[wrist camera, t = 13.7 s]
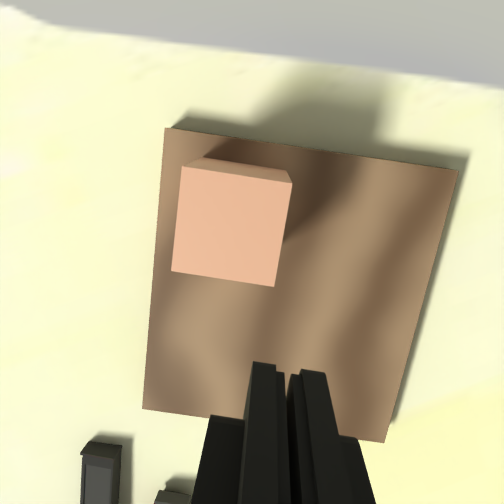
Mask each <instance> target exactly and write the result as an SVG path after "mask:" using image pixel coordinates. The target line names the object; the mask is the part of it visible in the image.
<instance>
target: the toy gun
mask: <svg viewBox="0 0 504 504" xmlns="http://www.w3.org/2000/svg"><path fill="white" fill-rule="evenodd" d="M121 449H122V446H121V445H114V444H106V443H98V442H90V441H89V442H88V443H87V444H86V446H85V447H84V448H83V450H82V451H81V453H80V455H83V457H82V474H81V498H80V504H118V499H119V483H120V467H121ZM191 500H192V498H191V495H187V494H181V493H175V492H169V491H163V490H159V492H158V494H157V497H156V499H155V501H154V504H190V503H191Z"/></svg>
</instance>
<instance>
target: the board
mask: <svg viewBox="0 0 504 504" xmlns="http://www.w3.org/2000/svg"><path fill="white" fill-rule="evenodd" d="M202 157H205V158H211V159H217V160H224V161H230V162H236V163H243V164H249V165H255V166H262V167H268V168H275V169H281V170H286V171H287V173H288V175H289V177H290V179H291V181H292V189H291V195H290V200H289V206H288V212H287V217H286V223H285V229H284V234H283V240H282V245H281V251H280V257H279V262H278V268H277V274H276V279H275V285H274V287H271V286H265V285H258V284H252V283H245V282H239V281H232V280H226V279H219V278H213V277H206V276H200V275H193V274H187V273H180V272H174V271H171V267H172V257H173V248H174V238H175V228H176V219H177V209H178V199H179V190H180V180H181V170H182V166H184V165H186V164H188V163H190V162H193V161H195V160H197V159H199V158H202ZM458 173H459V171H456V170H451V169H446V168H439V167H432V166H425V165H419V164H412V163H405V162H398V161H392V160H385V159H378V158H371V157H364V156H358V155H351V154H344V153H337V152H330V151H324V150H317V149H310V148H303V147H297V146H290V145H283V144H276V143H269V142H263V141H256V140H249V139H242V138H236V137H229V136H222V135H215V134H208V133H202V132H195V131H188V130H181V129H175V128H165V132H164V144H163V157H162V169H161V181H160V194H159V206H158V218H157V231H156V243H155V255H154V268H153V280H152V293H151V305H150V317H149V330H148V342H147V354H146V367H145V379H144V392H143V404H142V409H147V410H154V411H161V412H168V413H175V414H182V415H189V416H196V417H203V418H210V415H211V414H212V415H219V416H225V417H231V418H238V419H243V414H244V409H245V403H246V397H247V391H248V385H249V379H250V373H251V368H252V362H253V361H257V362H263V363H269V364H276V371H279V372H284V373H285V391H286V394H287V389H288V384H289V379H290V375H291V373H292V374H298V375H299V372H300V370H301V369H307V370H313V371H320V372H325V374H326V377H327V382H328V387H329V391H330V396H331V400H332V405H333V410H334V414H335V419H336V423H337V428H338V432H339V435H344V436H350V437H355V438H356V439H358V440H366V441H373V442H380V443H384V442H385V438H386V435H387V431H388V427H389V424H390V420H391V416H392V413H393V409H394V406H395V402H396V398H397V395H398V391H399V387H400V384H401V380H402V376H403V373H404V369H405V366H406V362H407V358H408V355H409V351H410V347H411V344H412V340H413V336H414V333H415V329H416V325H417V322H418V318H419V315H420V311H421V307H422V304H423V300H424V296H425V293H426V289H427V285H428V282H429V278H430V275H431V271H432V267H433V264H434V260H435V256H436V253H437V249H438V245H439V242H440V238H441V235H442V231H443V227H444V224H445V220H446V216H447V213H448V209H449V205H450V202H451V198H452V194H453V191H454V187H455V184H456V180H457V176H458Z"/></svg>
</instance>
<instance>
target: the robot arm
mask: <svg viewBox="0 0 504 504" xmlns="http://www.w3.org/2000/svg"><path fill="white" fill-rule="evenodd" d="M191 504H376V502H375V498H374V495H373V491H372V488H371V484H370V480H369V477H368V473H367V470H366V466H365V462H364V459H363V455H362V452H361V448H360V444H359V442H358V439H356V438H355V437H350V436H344V435H339V432H338V428H337V423H336V419H335V414H334V410H333V405H332V400H331V396H330V391H329V387H328V382H327V377H326V374H325V372H320V371H313V370H307V369H301V370H300V372H299V375H298V374H292V373H291V375H290V379H289V384H288V389H287V394H286V391H285V373H284V372H279V371H276V364H269V363H263V362H257V361H253V362H252V368H251V373H250V379H249V385H248V391H247V397H246V403H245V409H244V414H243V419H238V418H231V417H225V416H219V415H212V414H211V415H210V419H209V423H208V428H207V432H206V437H205V441H204V446H203V450H202V455H201V460H200V464H199V469H198V473H197V478H196V482H195V487H194V491H193V496H192V501H191Z"/></svg>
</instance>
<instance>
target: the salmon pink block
mask: <svg viewBox="0 0 504 504" xmlns="http://www.w3.org/2000/svg"><path fill="white" fill-rule="evenodd" d="M291 189H292V181H291V179H290V177H289V175H288V173H287V171H286V170H281V169H275V168H268V167H262V166H255V165H249V164H243V163H236V162H230V161H224V160H217V159H211V158H205V157H202V158H199V159H197V160H195V161H193V162H190V163H188V164H186V165H184V166H182V170H181V180H180V190H179V199H178V209H177V219H176V228H175V238H174V248H173V257H172V267H171V271H174V272H180V273H187V274H193V275H200V276H206V277H213V278H219V279H226V280H232V281H239V282H245V283H252V284H258V285H265V286H271V287H274V285H275V279H276V274H277V268H278V262H279V257H280V251H281V245H282V240H283V234H284V229H285V223H286V217H287V212H288V206H289V200H290V195H291Z"/></svg>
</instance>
